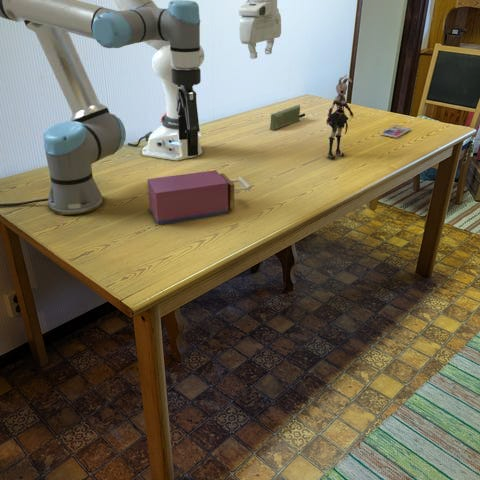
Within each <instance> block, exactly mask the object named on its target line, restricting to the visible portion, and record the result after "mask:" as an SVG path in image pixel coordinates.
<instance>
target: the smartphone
mask: <svg viewBox="0 0 480 480" xmlns="http://www.w3.org/2000/svg"><path fill="white" fill-rule="evenodd" d="M410 131H411V128H410V127H406V126H402V125H398V124H397V125H396V124H395V125H393V126H391V127H389V128H387V129H386V130H384V131H382V132H381V133H380V134H381V136H386V137H389V138H394V139H398V138H400V137H401V136H403V135H404V134H406V133H408V132H410Z"/></svg>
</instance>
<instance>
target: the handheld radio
mask: <svg viewBox="0 0 480 480" xmlns="http://www.w3.org/2000/svg"><path fill="white" fill-rule="evenodd" d="M305 116H306V113H301V105H300V104H296V105H294V106H291V107H288V108H285V109H283V110H280V111H277V112H273V113H271V114H270V123H269V124H270V126H269V130H271V131H275V130H276V131H277V130H279V129H280V128H281V129H282V128H283V127H286V126H289V125H291V124H294V123H296V122H298V121H300V118H303V117H305Z"/></svg>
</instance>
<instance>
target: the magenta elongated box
mask: <svg viewBox="0 0 480 480" xmlns="http://www.w3.org/2000/svg"><path fill="white" fill-rule="evenodd" d="M220 174H221V173H219V172H218V171H217V170H216V169H214V170H207V171H199V172H191V173H183V174H176V175H168V176H167V175H166V176H161V177H160V176H159V177H152V178H147V179H146V180H147V193H148V203H149V211H150V212H151V214H152V216H153V217H154V220H155V222H156V223H157V225H165V224H170V223H176V222H183V221H189V220H194V219H200V218H201V219H202V218H207V217H213V216H214V217H215V216H220V215H225V214H229V206H228V183H227V182H226V180H225V179H224V178H223V177H222V176H221V175H220Z"/></svg>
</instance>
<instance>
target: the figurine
mask: <svg viewBox="0 0 480 480" xmlns="http://www.w3.org/2000/svg"><path fill="white" fill-rule="evenodd" d="M347 76H348V75H347V74H345V75H344V76H341V77H340V78H339V79H338V83H337V84H336V87H335V91H336V93H337V96H335V97H334V99H333V102H332V104H331V106H330V107H329V110H328V113H327V118H326V122H325V124H326V125H327V126H330V127H331V133H330V136H328V139H329V145H328V146H329V149H328V152H327V158H329V159H330V160H335V159H336V157H335V155H338V156H339V157H344V156H345V153H344V152H342V151H341V149H340V146H341V145H340V144H341V138H342V136H343V135H342V133H343V129H344V128H345V130H344V135H347V132H348V128H349V125H348V120H349V118H354V113H353V111H352V110H351V107H350V106H349V105H348V101H347V100H346V95H347V90H348V85H347V82H349V83H351V84H352V83H353V81H352V79H351V77H347ZM334 107H336V110H334ZM345 109H347V111H348V112H349V117H348V116H347V115H346V111H345ZM333 110H334V112H333ZM334 141H336V149H335V155H334V153H333V145H334Z"/></svg>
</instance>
